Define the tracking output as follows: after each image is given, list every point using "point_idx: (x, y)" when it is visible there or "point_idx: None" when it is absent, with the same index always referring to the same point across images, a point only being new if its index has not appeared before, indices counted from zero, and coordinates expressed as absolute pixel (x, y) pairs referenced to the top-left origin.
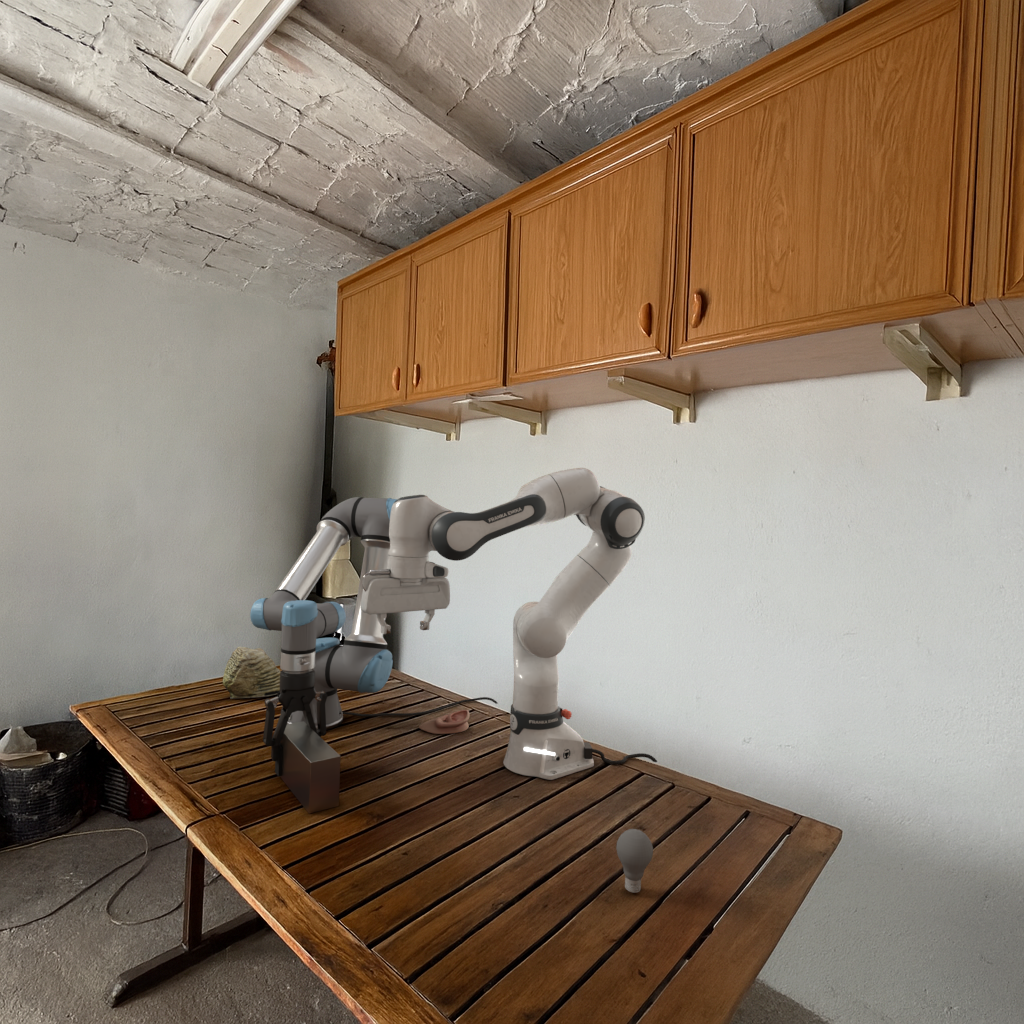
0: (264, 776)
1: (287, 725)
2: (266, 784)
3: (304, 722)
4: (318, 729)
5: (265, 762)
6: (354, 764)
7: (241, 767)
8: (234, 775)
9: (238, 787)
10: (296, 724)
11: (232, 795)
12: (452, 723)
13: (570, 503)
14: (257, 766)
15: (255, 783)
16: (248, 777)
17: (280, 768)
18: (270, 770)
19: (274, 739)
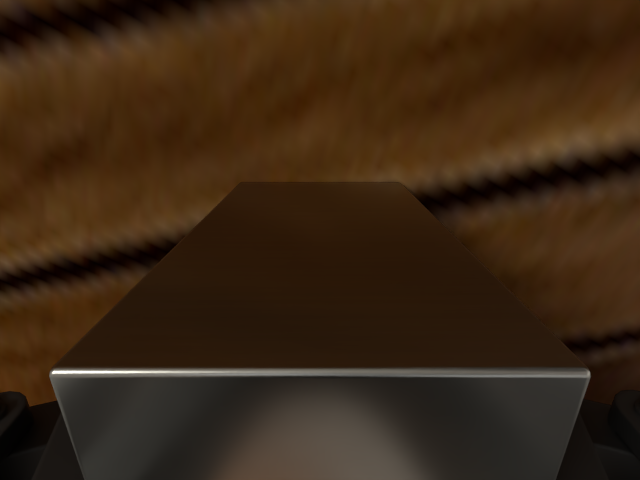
0: (173, 222)
1: (241, 432)
2: None
3: (564, 435)
4: (628, 457)
5: (208, 5)
6: (629, 308)
7: (44, 7)
8: (7, 121)
9: (40, 281)
10: (400, 451)
11: (17, 342)
12: None
13: None
14: (149, 50)
15: (122, 278)
16: (89, 191)
17: None
18: (216, 159)
19: None
